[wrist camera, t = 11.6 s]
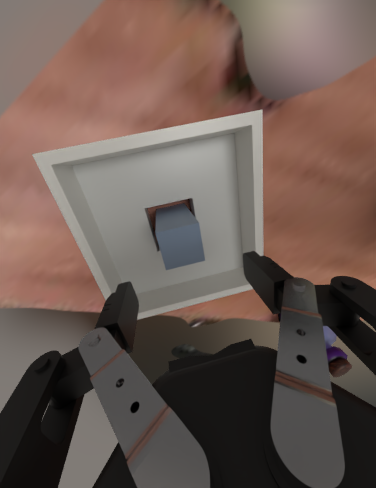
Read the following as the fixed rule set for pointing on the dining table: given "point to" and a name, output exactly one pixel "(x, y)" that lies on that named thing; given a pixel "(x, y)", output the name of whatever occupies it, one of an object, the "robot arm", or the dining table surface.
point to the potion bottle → (334, 354)
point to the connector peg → (178, 236)
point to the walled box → (162, 192)
